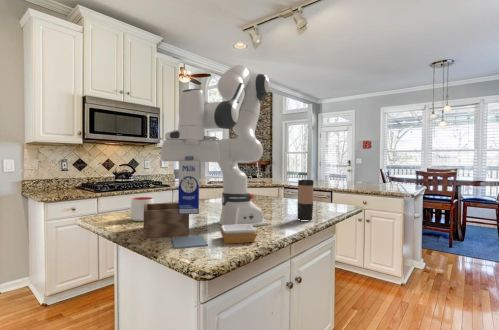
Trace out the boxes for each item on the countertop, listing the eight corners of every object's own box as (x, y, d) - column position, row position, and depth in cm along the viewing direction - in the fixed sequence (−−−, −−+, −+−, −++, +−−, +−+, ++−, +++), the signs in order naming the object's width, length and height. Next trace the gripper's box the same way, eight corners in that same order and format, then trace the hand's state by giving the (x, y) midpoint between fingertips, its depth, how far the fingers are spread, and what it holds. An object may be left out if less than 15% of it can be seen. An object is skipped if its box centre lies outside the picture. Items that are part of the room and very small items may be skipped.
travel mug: (314, 222, 136) (315, 180, 136) (298, 221, 137) (299, 180, 136) (310, 218, 144) (311, 179, 144) (295, 218, 144) (296, 179, 144)
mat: (201, 237, 106) (201, 235, 106) (207, 245, 96) (207, 244, 96) (171, 239, 102) (171, 237, 102) (174, 248, 92) (174, 247, 92)
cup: (126, 219, 133) (126, 198, 132) (145, 216, 141) (145, 196, 141) (139, 222, 127) (139, 200, 127) (157, 219, 135) (158, 198, 135)
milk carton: (199, 210, 102) (199, 155, 102) (199, 213, 96) (199, 155, 96) (179, 210, 101) (179, 155, 101) (177, 214, 95) (178, 154, 94)
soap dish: (251, 236, 110) (251, 223, 109) (257, 243, 100) (257, 229, 100) (219, 237, 107) (219, 224, 107) (222, 245, 97) (222, 230, 97)
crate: (183, 225, 124) (183, 202, 124) (188, 234, 109) (189, 209, 108) (143, 227, 118) (144, 203, 118) (143, 238, 103) (143, 210, 103)
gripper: (218, 137, 105) (217, 174, 105) (160, 134, 98) (159, 174, 98) (222, 136, 99) (221, 175, 99) (161, 133, 92) (160, 175, 92)
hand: (190, 174), depth 99 cm, fingers closed, pressing on milk carton
